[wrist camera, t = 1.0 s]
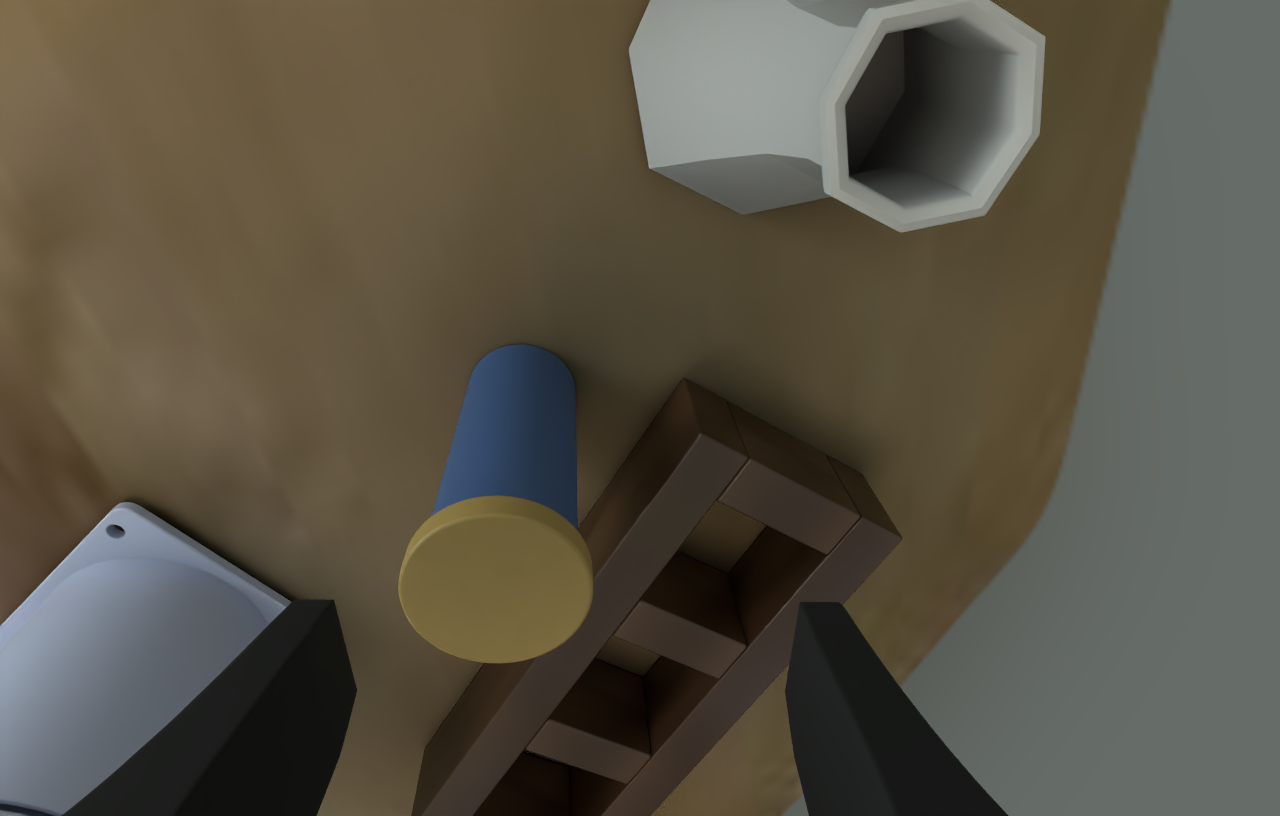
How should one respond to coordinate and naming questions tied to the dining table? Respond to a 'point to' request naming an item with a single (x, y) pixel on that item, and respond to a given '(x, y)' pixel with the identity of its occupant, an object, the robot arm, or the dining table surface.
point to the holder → (662, 623)
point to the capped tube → (504, 519)
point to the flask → (840, 103)
